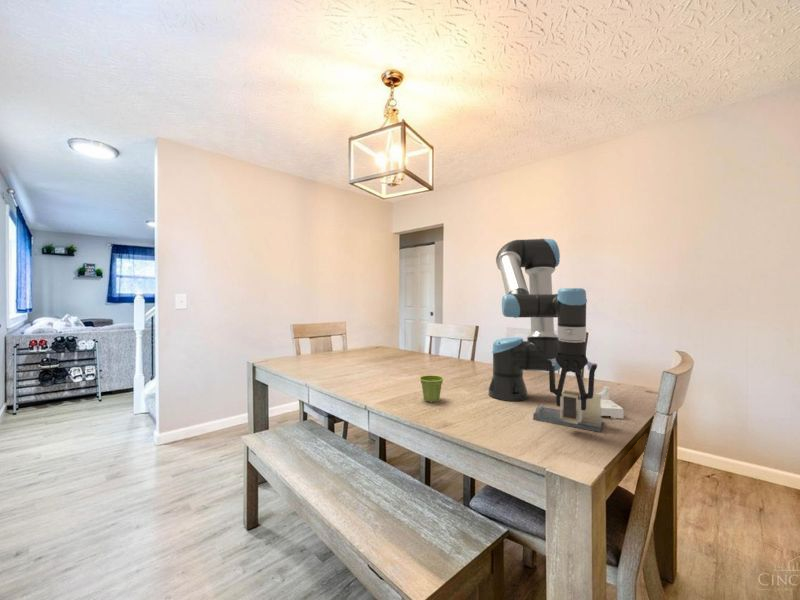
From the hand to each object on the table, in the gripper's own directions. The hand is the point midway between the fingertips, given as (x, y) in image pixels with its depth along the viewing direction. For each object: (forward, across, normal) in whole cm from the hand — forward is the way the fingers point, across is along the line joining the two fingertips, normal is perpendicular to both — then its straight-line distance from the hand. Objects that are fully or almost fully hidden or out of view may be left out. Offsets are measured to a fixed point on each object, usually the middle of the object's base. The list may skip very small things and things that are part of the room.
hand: (571, 418), depth 101 cm
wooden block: (0, 0, 0) cm, 0 cm away
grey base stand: (+4, -2, +10) cm, 11 cm away
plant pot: (+5, -50, +4) cm, 50 cm away
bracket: (+5, +7, +26) cm, 27 cm away
